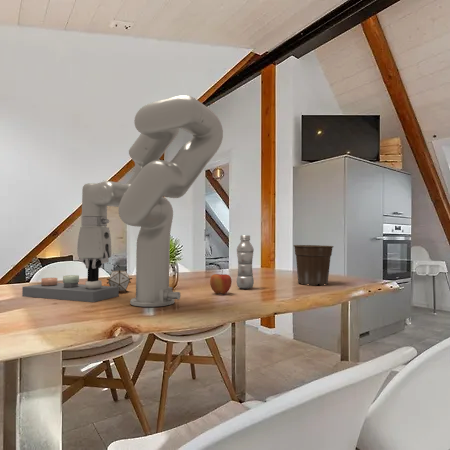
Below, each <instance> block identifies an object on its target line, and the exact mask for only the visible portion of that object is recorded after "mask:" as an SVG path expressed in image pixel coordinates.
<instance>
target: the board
mask: <svg viewBox="0 0 450 450" xmlns="http://www.w3.org/2000/svg"><path fill="white" fill-rule="evenodd" d="M21 292H22V294H21V296H22V297H28V298H37V299H51V300H60V301H61V300H62V301H63V300H64V301H73V302H85V303H95V302H101V301H104V299H105V300H108V299H112V298H116V297H119V296H120V295H119V292H120V291H119V287H113V286H110V285H102V287H101V288H100V289H95V290H93V289H86V288H85V284H81V283H80V284H79V283H78V287H74V288H64V283H63V282H57V285H55V286H42V285H41V283H40V284H33V285H27V286H22V291H21Z"/></svg>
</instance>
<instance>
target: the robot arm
mask: <svg viewBox="0 0 450 450" xmlns="http://www.w3.org/2000/svg"><path fill="white" fill-rule="evenodd" d="M133 123H134V126H135V129H136V130H137V131H138V132H139V133H140V135H138V137H137V138H136V140H135V141H134V142H133V144H131V147H130V148H129V150H128V155H129V157H130V158H131V160H132V161H133V162H134V170H133V173H132V176H131V177H130V178H129V179H128V181H127V182H126V183H121V182H118V181H117V182H116V181H111V180H105V181H100V182H97V183H95V182H92V183H84V184H83V186H82V188H81V189H82V193H81V195H82V196H81V200H82V201H81V226H79V227H80V228H79V232H78V238H77V247H76V248H77V249H76V250H77V251H76V252H77V253H76V254H77V257H78V261H79V262H80V263H83V264H84V265H85V269H87V280H86V281H91V282H93V281H98V280H99V275H100V273H99V271H100V269H101V267H102V265H103V264H105V263H106V264H107V263H109V261H110V260H109V258H111V257H112V237H111V230H110V227H108V226H107V225H108V224H109V223H110V219H108V207H112V208H113V207H114V208H116V207H118V216H119V218H120V220H121V221H122V222H123V223H124V224H126V225H128V226H132V227H138V228H139V231H138V234H137V238H136V251H135V252H136V258H135V260H136V262H135V264H136V265H135V269H136V270H135V273H136V274H135V277H136V278H135V297H132V298H131V299H130V301H129V303H130V305H132V306H135V307H141V308H142V307H144V308H152V307H153V308H155V307H165V306H171V305H173V304H175V300H180V299H181V292H180V291H173V287H172V286H170V259H171V258H170V252H171V251H170V249H171V248H170V247H171V230H172V223H173V218H174V210H173V206H172V204H171V202H170V201H169V200H168V199H167V198H169V199H179V198H181V197H183V196H184V195H185V194H187V192H188V191H189V189H190V188H191V187H192V185H193V184H194V182H195V181H197V179H198V178H199V176H200V175H201V173H202V172H203V170H204V169H205V168H206V166H207V164H208V163H209V162H210V161H211V160H212V158H213V157H214V156H215V155H216V154H217V152H218V151H219V149H220V147H221V145H222V142H223V138H224V129H223V125H222V123H221V121H220V119H219V117H218V116H217V114H216V113H215V112H214V111H212V110H211V109H210V107H207V106H206V105H204V103H202V102H201V101H199V99H197V98H195V97H193V96H191V95H188V94H187V95H186V94H183V95H182V94H181V95H176V96H172V97H168V98H167V97H166V98H164V99H160V100H156V101H153V102H150V103H147V104H145V105H143V106H142V107H141V108H139V110H137V112H136V113H135V115H134V122H133ZM180 129H182V130H183V131H185V132H187V133H188V134H191V135H192V138H191V139H190V140H189V141H187V142H186V143H185V144H183V146H181V147H180V148H179V150H178V151H177V153H176V154H175V156H173V158H172V159H171V160H170V161H167V160H163V159H161V157H162V156H163V155H164V153H165V152H166V151H167V150H168V148H169V147H170V145H171V144H172V143H173V142H174V140H175V139H176V138H177V136H178V135H179V132H180Z"/></svg>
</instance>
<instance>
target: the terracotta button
mask: <svg viewBox="0 0 450 450" xmlns="http://www.w3.org/2000/svg"><path fill="white" fill-rule="evenodd" d="M57 283H58V277H42V278H41V282H40V284H41V285H42V286H55V285H57Z"/></svg>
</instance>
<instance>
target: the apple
mask: <svg viewBox="0 0 450 450" xmlns="http://www.w3.org/2000/svg"><path fill="white" fill-rule="evenodd" d="M223 272H224V270H221V273H216V274H215V273H214V274H212V275H211V276H210V279H209V283H210V288H211V290H212V291H213V292H214V294H215V295H219V294H222V295H226V294H227V293H228V292H229V291H230V289H231V286H232V278H231V276H230V275H229V274H227V273H226V274H225V273H224V274H223Z"/></svg>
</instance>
